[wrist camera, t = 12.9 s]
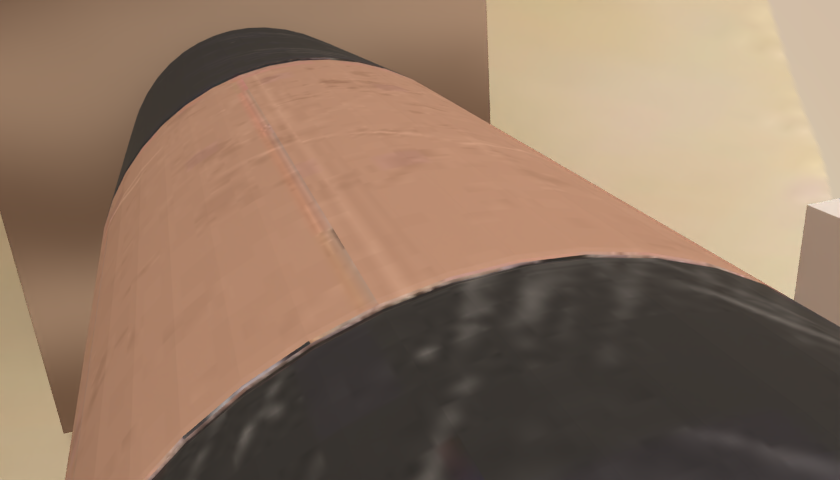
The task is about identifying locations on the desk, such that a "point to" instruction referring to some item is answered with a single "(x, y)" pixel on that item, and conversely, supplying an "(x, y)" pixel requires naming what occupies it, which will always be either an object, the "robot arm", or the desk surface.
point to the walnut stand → (120, 103)
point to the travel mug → (415, 301)
